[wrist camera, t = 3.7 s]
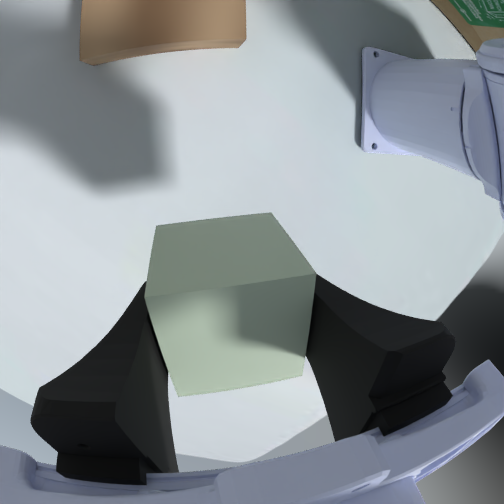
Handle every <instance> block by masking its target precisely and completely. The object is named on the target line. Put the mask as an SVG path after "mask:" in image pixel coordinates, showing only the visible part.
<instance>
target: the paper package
mask: <svg viewBox="0 0 504 504" xmlns="http://www.w3.org/2000/svg"><path fill="white" fill-rule="evenodd" d="M431 1H432V2H433V3H434V4H435V5H436V6H437V7H438V8H439V9H440V10H441V11H442V12H443V13H444V14H445V16H446V17H447V18H448V19H449V20H450V21H451V22H452V23H453V24H454V26H455V27H456V28H457V29H458V30H459V31H460V33H461V34H462V35H463V36H464V38H465V39H466V40H467V41H468V43H469V44H470V45H471V46H472V48H473V49H474V50H475V52H477V50H479V49H480V47H481V45H482V43H483V42H485V41H487V40H491V39H498V38H504V0H431Z"/></svg>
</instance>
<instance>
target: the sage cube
mask: <svg viewBox="0 0 504 504" xmlns="http://www.w3.org/2000/svg"><path fill="white" fill-rule="evenodd" d="M315 281H316V272H315V271H314V269H313V268H312V267H311V265H310V264H309V262H308V261H307V260H306V258H305V257H304V256H303V254H302V253H301V252H300V250H299V249H298V248H297V246H296V245H295V243H294V242H293V241H292V239H291V238H290V237H289V235H288V234H287V233H286V231H285V230H284V229H283V227H282V226H281V225H280V223H279V222H278V221H277V220H276V218H275V217H274V216H273V214H272V213H261V214H251V215H241V216H232V217H223V218H214V219H206V220H197V221H189V222H181V223H173V224H166V225H158V226H156V230H155V235H154V240H153V246H152V251H151V257H150V263H149V269H148V276H147V283H146V289H145V301H146V304H147V308H148V311H149V315H150V318H151V321H152V324H153V328H154V331H155V334H156V337H157V340H158V343H159V346H160V349H161V352H162V355H163V358H164V360H165V363H166V366H167V369H168V371H169V374H170V377H171V379H172V382H173V385H174V387H175V390H176V392H177V395H178V397H181V396H191V395H199V394H207V393H214V392H221V391H228V390H234V389H240V388H246V387H251V386H257V385H262V384H267V383H272V382H277V381H281V380H286V379H290V378H295V377H299V376H302V374H303V368H304V361H305V355H306V349H307V342H308V335H309V328H310V321H311V314H312V306H313V298H314V290H315Z"/></svg>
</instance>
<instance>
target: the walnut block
mask: <svg viewBox="0 0 504 504" xmlns="http://www.w3.org/2000/svg"><path fill="white" fill-rule="evenodd" d="M245 40H246V1H245V0H82V9H81V24H80V61H82V62H85V63H88V64H90V65H93V66H94V65H98V64H103V63H107V62H112V61H116V60H121V59H126V58H132V57H137V56H143V55H150V54H157V53H165V52H173V51H183V50H195V49H212V48H239V47H240V45H241V44H242V43H243V42H244V41H245Z"/></svg>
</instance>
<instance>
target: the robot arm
mask: <svg viewBox="0 0 504 504" xmlns="http://www.w3.org/2000/svg"><path fill="white" fill-rule="evenodd" d="M373 52H375V53H376V57H375V56H374V55H373ZM476 58H477V60H465V59H412V58H409V57H406V56H403V55H399V54H396V53H392V52H389V51H385V50H381V49H377V48H373V47H365V48H363V50H362V78H363V90H362V130H361V149H362V150H363V151H364V152H368V153H385V154H401V155H414V156H422V157H424V158H427V159H430V160H432V161H435V162H438V163H440V164H443V165H445V166H448V167H450V168H453V169H455V170H458V171H460V172H462V173H465V174H467V175H469V176H472V177H474V178H476V179H478V180H480V181H482V183H483V185H484V189H485V194H487V195H489V196H491V197H492V198H494V199H496V200H498V201H499V202H500V212H501V215H502V218H503V220H504V38H498V39H491V40H487V41H485V42H483V43H482V45H481V47H480V49H479V50H477V52H476ZM373 143H374V148H373V149H372V144H373ZM146 283H147V281H146V282H145V283H144V284H143V285H142V287H141V288H140V290H139V291H138V293H137V294H136V296H135V297H134V299H133V300H132V302H131V303H130V305H129V306H128V308H127V309H126V311H125V312H124V313H123V315H122V316H121V317H120V319H119V320H118V321H117V323H116V324H115V325H114V327H113V328H112V329H111V330H110V331H109V333H108V334H107V335H106V336H105V337H104V338H103V339H102V340H101V341H100V342H99V343H98V344H97V345H96V346H95V347H94V348H93V349H92V350H91V351H90V352H89V353H88V354H86V355H85V356H84V357H83V358H82V359H81V360H80V361H78V362H77V363H76V364H75V365H73V366H72V367H71V368H69V369H68V370H67V371H65V372H64V373H62V374H61V375H59V376H58V377H56V378H55V379H53V380H51V381H50V382H48V383H47V384H45V385H43V386H41V387H40V388H39V390H38V393H37V396H36V400H35V404H34V408H33V412H32V415H31V425H32V427H33V429H34V430H35V431H36V433H37V434H38V435H39V436H40V437H41V438H42V439H43V440H45V441H46V442H47V443H48V444H49V445H51V447H53V448H54V449H55V450H56V451H57V452H58V456H57V465H51V464H46V463H41V462H36V461H35V460H34V459H33V458H32V457H31V456H30V455H28V454H27V453H25V452H23V451H20V450H17V449H13V448H9V447H6V446H2V445H0V504H426V503H425V501H424V499H423V497H422V495H421V493H420V491H419V489H418V487H417V485H416V484H415V483H416V482H417V481H419V480H421V479H422V478H424V477H426V476H427V475H429V474H430V473H432V472H434V471H435V470H437V469H438V468H440V467H441V466H443V465H444V464H446V463H447V462H448V461H450V460H451V459H453V458H454V457H455V456H457V455H458V454H460V453H461V452H462V451H464V450H465V449H466V448H468V447H469V446H470V445H472V444H473V443H474V442H475V441H477V440H478V439H479V438H480V437H482V436H483V435H484V434H485V433H486V432H488V431H489V430H490V429H491V428H492V427H493V426H494V425H495V424H496V423H497V422H498V421H499V420H500V419H501V418H502V417H503V416H504V377H503V376H502V375H501V373H500V372H499V371H498V370H497V368H496V367H495V366H494V365H493V364H492V363H491V361H490V360H487V361H485V362H484V363H482V364H481V365H479V366H478V367H476V368H475V369H474V370H472V371H471V372H470V373H469V374H468V376H467V377H466V379H465V380H464V382H463V384H462V385H460V386H458V387H457V388H455V389H453V390H452V391H450V390H449V389H448V388H447V386H446V385H445V384H444V382H443V381H445V379H446V377H445V375H444V374H443V373H442V370H443V368H444V366H445V364H446V363H447V361H448V360H449V358H450V356H451V354H452V352H453V350H454V347H455V342H456V341H455V337H454V336H453V335H452V333H451V332H450V331H449V330H448V329H447V328H446V327H445V326H444V324H443V323H442V322H437V321H430V320H424V319H418V318H414V317H410V316H406V315H402V314H398V313H395V312H392V311H389V310H386V309H383V308H380V307H378V306H375V305H372V304H370V303H368V302H366V301H363V300H361V299H359V298H357V297H355V296H353V295H351V294H349V293H347V292H346V291H344V290H342V289H340V288H338V287H337V286H335V285H333V284H332V283H330V282H329V281H327V280H325V279H324V278H322V277H321V276H319V275H318V274H316V281H315V290H314V298H313V306H312V314H311V321H310V328H309V335H308V342H307V349H306V357H307V359H308V361H309V363H310V365H311V367H312V370H313V372H314V375H315V378H316V381H317V383H318V386H319V389H320V392H321V395H322V398H323V401H324V404H325V407H326V411H327V414H328V417H329V421H330V424H331V427H332V431H333V435H334V439H335V442H333V443H330V444H327V445H323V446H320V447H317V448H313V449H310V450H306V451H303V452H299V453H295V454H291V455H287V456H283V457H278V458H274V459H269V460H264V461H259V462H254V463H250V464H245V465H241V466H237V467H230V468H224V469H215V470H205V471H194V472H179V470H178V465H177V461H176V455H175V449H174V443H173V436H172V429H171V421H170V412H169V401H168V369H167V366H166V363H165V360H164V358H163V355H162V352H161V349H160V346H159V343H158V340H157V337H156V334H155V331H154V328H153V324H152V321H151V318H150V315H149V311H148V308H147V304H146V301H145V289H146Z"/></svg>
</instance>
